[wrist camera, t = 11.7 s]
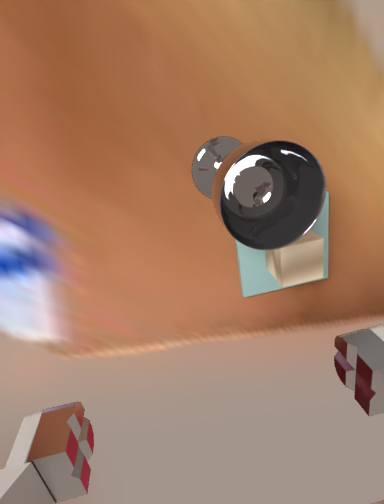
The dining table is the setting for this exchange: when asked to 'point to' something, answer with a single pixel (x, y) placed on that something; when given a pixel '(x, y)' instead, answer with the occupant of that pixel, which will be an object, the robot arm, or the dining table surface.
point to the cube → (297, 260)
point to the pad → (254, 261)
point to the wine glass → (261, 189)
